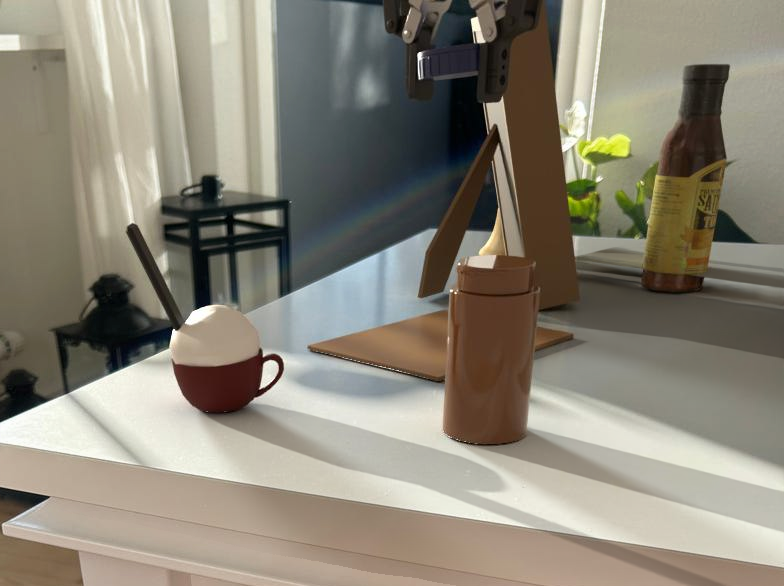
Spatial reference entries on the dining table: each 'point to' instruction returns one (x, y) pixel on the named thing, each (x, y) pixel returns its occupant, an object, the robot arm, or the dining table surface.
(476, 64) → the lid
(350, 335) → the mat
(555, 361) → the dining table surface
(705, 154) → the sauce bottle
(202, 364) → the cocoa
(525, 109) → the photo frame
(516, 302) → the jar
